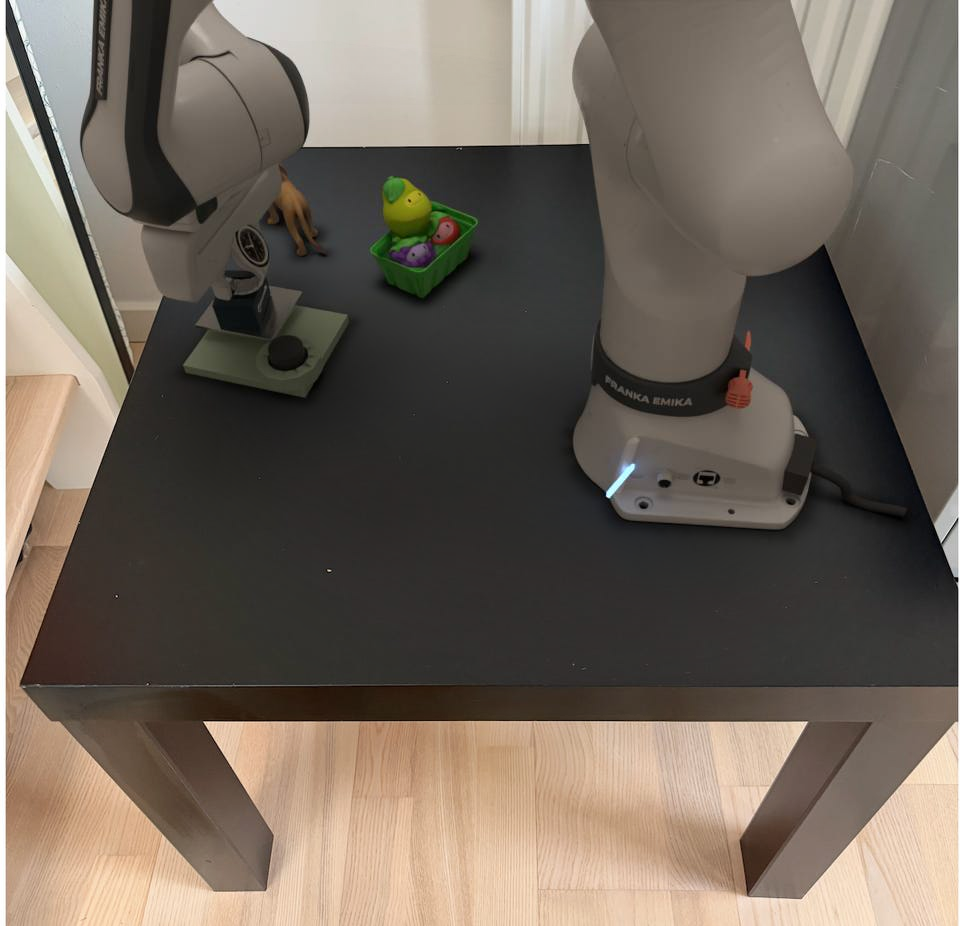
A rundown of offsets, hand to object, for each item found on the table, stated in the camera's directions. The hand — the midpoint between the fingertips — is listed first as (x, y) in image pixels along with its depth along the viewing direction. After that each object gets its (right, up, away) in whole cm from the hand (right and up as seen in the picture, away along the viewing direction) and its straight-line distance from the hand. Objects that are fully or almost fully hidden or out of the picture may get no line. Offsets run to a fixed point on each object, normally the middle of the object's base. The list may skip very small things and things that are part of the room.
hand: (238, 278), depth 95 cm
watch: (0, -3, +3) cm, 4 cm away
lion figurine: (+1, +10, +18) cm, 20 cm away
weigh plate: (0, -3, +4) cm, 5 cm away
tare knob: (+5, -9, -1) cm, 10 cm away
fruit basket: (+19, +3, +12) cm, 22 cm away
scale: (+2, -7, +4) cm, 8 cm away
